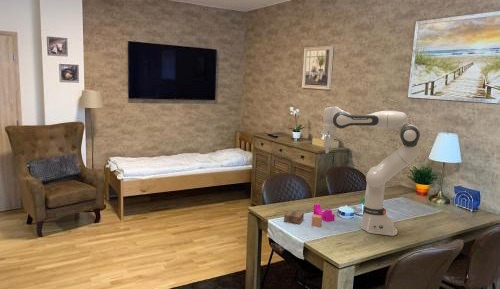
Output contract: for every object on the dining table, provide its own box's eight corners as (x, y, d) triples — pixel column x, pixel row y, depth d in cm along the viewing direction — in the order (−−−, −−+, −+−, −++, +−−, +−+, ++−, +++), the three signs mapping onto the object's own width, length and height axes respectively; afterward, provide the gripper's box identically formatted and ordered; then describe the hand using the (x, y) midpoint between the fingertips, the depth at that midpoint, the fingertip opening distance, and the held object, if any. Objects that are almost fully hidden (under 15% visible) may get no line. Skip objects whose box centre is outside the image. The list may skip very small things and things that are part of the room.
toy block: (334, 221, 251) (335, 210, 250) (326, 222, 248) (327, 211, 247) (320, 214, 264) (321, 203, 263) (313, 215, 261) (313, 204, 260)
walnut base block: (303, 220, 250) (303, 213, 249) (298, 225, 241) (299, 217, 240) (288, 217, 254) (289, 210, 253) (283, 222, 245) (284, 214, 244)
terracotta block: (321, 224, 242) (321, 215, 241) (319, 227, 238) (319, 217, 237) (313, 223, 244) (314, 214, 243) (311, 225, 240) (312, 216, 239)
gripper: (332, 132, 233) (330, 154, 235) (336, 130, 253) (334, 150, 254) (322, 132, 235) (320, 154, 237) (326, 129, 255) (325, 149, 256)
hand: (327, 152), depth 246 cm, fingers open, 8 cm apart
